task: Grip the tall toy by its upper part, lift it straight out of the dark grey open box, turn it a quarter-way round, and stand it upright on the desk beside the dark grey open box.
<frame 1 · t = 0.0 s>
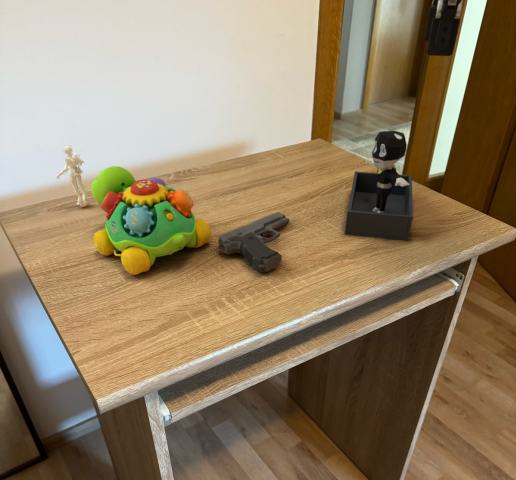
hand: (437, 47, 66), 30 cm above the table, tool pointing down, fingers open, 9 cm apart
turtle toy: (146, 244, 87), on the table
dark grey open box: (377, 214, 94), on the table
toy: (378, 213, 94), resting on dark grey open box
figurine: (80, 207, 98), on the table
handgun: (270, 247, 85), on the table
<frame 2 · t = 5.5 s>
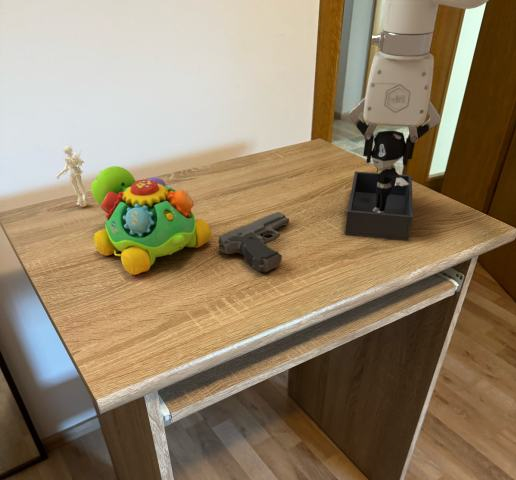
hand: (386, 160, 87), 10 cm above the table, tool pointing down, fingers closed on toy, 5 cm apart
toy: (378, 213, 93), resting on dark grey open box, touching gripper
everything else where it was.
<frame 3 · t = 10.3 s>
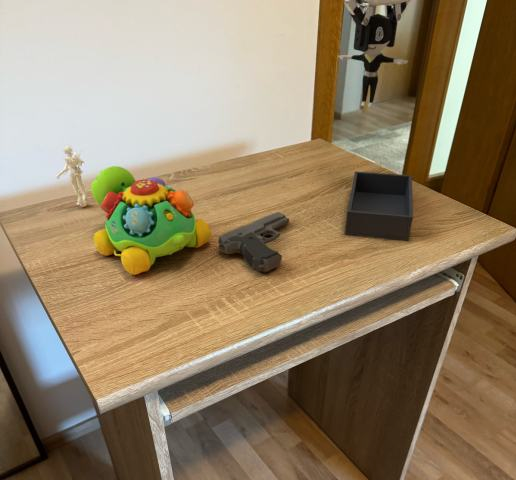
hand: (373, 47, 89), 25 cm above the table, tool pointing down, fingers closed on toy, 5 cm apart
toy: (366, 106, 96), point 15 cm above the table, touching gripper
everything else where it was.
when the fingers open (10 cm above the table, at t = 15.1 s): toy stays where it is, on the table.
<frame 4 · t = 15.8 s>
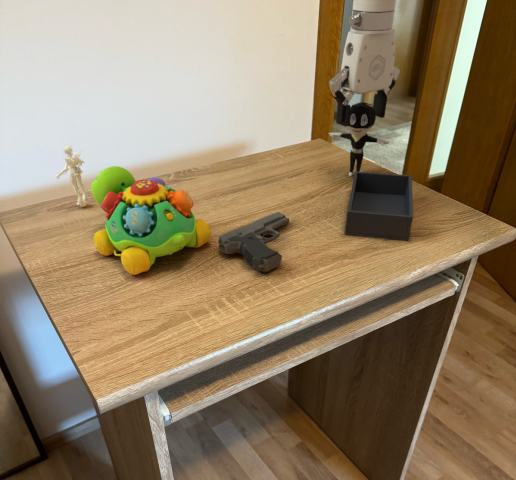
hand: (360, 120, 100), 12 cm above the table, tool pointing down, fingers open, 9 cm apart
toy: (353, 176, 108), on the table
everything else where it was.
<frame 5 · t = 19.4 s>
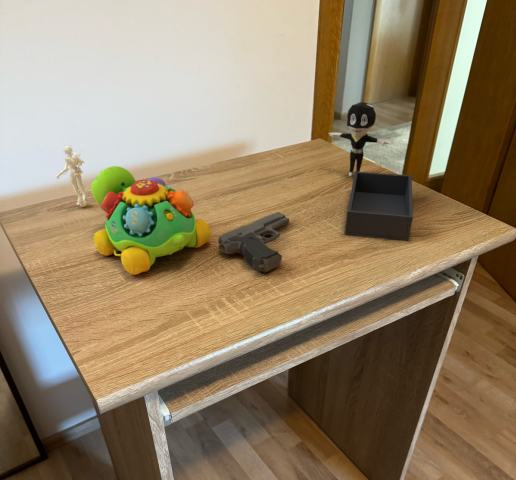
nothing on the table moved.
at the end: toy inside the target area (0.1 cm from its centre), on the table; toy tilted 0°; toy touching table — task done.
